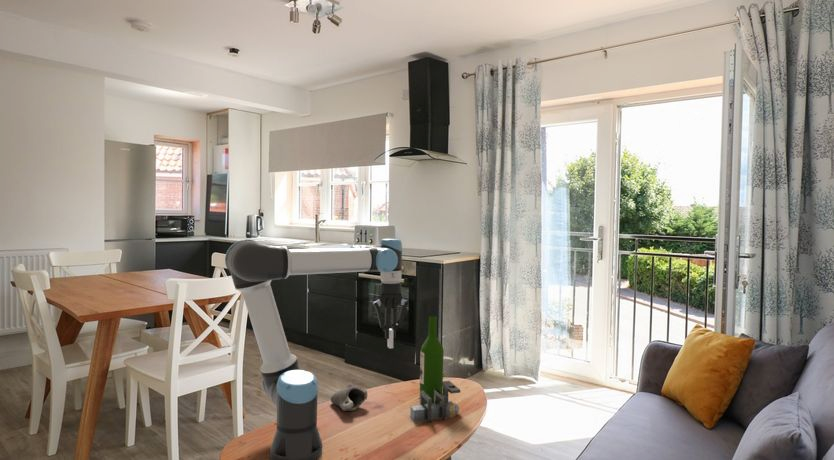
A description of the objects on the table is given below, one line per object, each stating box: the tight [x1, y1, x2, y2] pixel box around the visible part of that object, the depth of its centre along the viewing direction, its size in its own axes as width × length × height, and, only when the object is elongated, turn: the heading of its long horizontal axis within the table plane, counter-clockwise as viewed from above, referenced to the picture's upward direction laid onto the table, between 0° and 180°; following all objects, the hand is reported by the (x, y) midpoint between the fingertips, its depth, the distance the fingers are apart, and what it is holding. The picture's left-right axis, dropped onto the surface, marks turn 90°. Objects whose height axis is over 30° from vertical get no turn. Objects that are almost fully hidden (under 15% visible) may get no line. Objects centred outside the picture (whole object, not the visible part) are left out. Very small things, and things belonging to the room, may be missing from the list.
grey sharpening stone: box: [409, 400, 460, 423], centre depth 173 cm, size 18×4×4 cm, turn 110°
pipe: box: [330, 382, 368, 412], centre depth 180 cm, size 16×9×15 cm
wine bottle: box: [419, 315, 444, 404], centre depth 188 cm, size 9×9×32 cm
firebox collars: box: [419, 380, 461, 424], centre depth 175 cm, size 12×10×10 cm
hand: (390, 347), depth 174 cm, fingers closed
